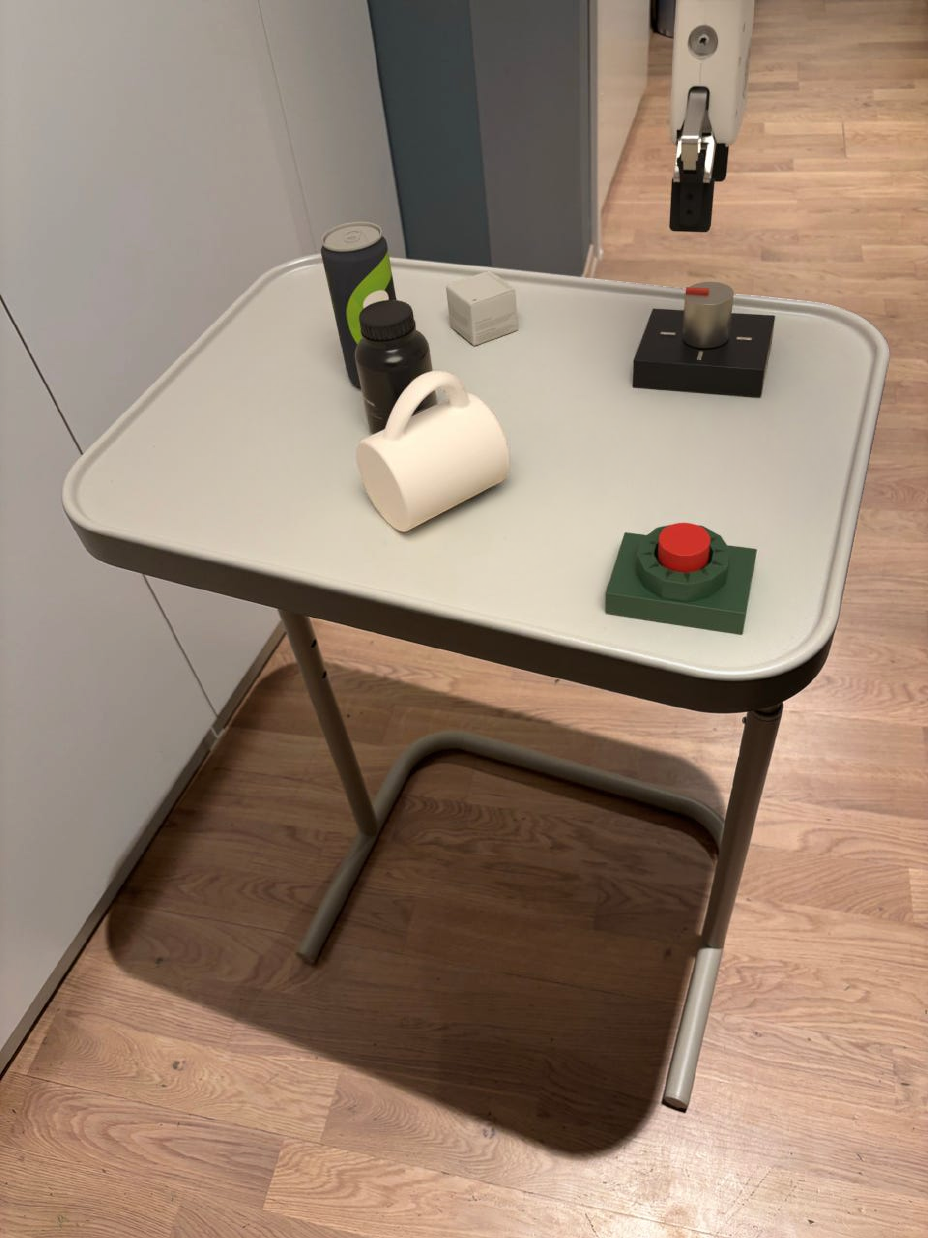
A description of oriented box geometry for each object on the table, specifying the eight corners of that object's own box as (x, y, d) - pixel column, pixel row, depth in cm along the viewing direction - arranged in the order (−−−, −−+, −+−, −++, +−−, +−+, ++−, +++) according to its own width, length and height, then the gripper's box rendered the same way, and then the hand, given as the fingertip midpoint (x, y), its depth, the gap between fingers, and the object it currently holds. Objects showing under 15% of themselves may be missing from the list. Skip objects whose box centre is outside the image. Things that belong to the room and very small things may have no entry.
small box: (520, 330, 101) (517, 287, 97) (473, 347, 99) (468, 304, 96) (493, 310, 105) (490, 267, 101) (448, 326, 103) (443, 284, 100)
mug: (365, 503, 83) (337, 384, 74) (460, 455, 86) (445, 336, 78) (415, 549, 78) (391, 428, 69) (514, 496, 81) (504, 375, 73)
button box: (753, 569, 72) (759, 530, 69) (742, 635, 68) (748, 595, 65) (624, 552, 75) (624, 513, 72) (605, 613, 70) (605, 575, 68)
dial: (732, 326, 91) (737, 279, 88) (725, 350, 88) (730, 302, 85) (686, 323, 92) (689, 277, 89) (678, 346, 90) (681, 299, 86)
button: (711, 543, 69) (713, 525, 68) (704, 576, 67) (706, 558, 66) (662, 537, 70) (663, 519, 69) (653, 569, 68) (654, 551, 67)
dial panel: (771, 342, 94) (775, 313, 92) (760, 397, 88) (764, 368, 85) (651, 334, 97) (652, 306, 95) (632, 387, 91) (633, 358, 89)
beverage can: (350, 365, 100) (319, 224, 89) (408, 357, 99) (384, 216, 89) (348, 397, 95) (316, 253, 85) (409, 389, 95) (384, 244, 84)
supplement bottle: (356, 439, 90) (330, 324, 81) (393, 401, 94) (371, 288, 85) (418, 454, 87) (398, 336, 79) (453, 414, 91) (437, 298, 83)
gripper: (759, -10, 59) (732, 253, 71) (783, -75, 70) (756, 163, 82) (640, -5, 61) (633, 250, 74) (681, -69, 72) (669, 162, 85)
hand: (698, 203), depth 78 cm, fingers open, 9 cm apart
